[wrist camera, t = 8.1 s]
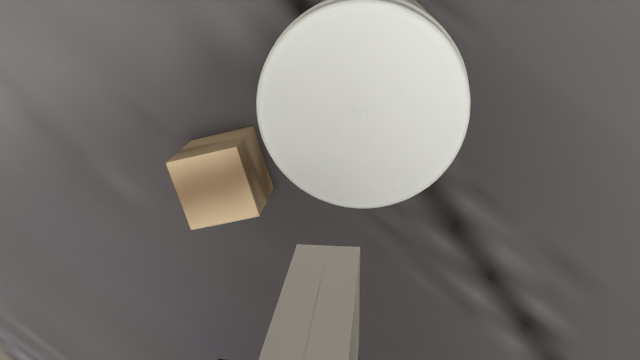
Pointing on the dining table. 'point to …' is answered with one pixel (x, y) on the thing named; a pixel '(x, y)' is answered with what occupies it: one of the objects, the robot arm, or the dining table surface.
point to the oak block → (221, 178)
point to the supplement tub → (363, 101)
